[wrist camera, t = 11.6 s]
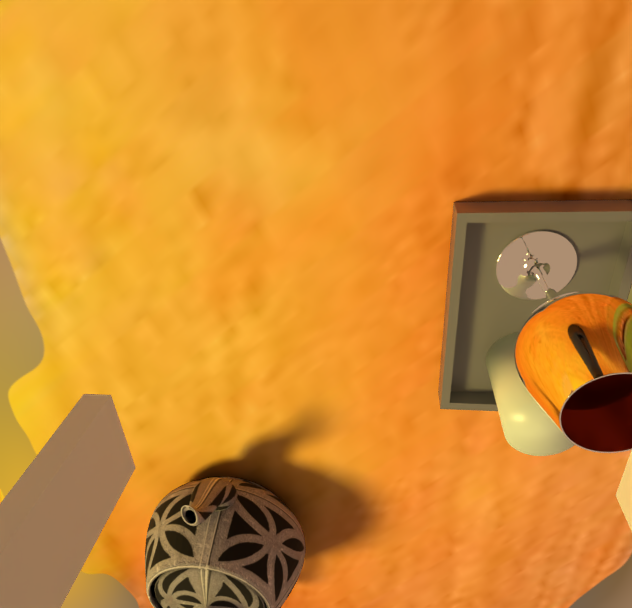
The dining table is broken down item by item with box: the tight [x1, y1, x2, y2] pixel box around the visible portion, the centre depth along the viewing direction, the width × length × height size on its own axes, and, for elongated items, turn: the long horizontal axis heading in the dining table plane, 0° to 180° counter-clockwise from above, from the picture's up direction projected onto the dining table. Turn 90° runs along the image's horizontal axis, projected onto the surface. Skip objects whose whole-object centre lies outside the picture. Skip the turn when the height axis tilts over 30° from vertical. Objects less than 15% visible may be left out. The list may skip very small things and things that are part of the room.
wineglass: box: [496, 230, 632, 453], centre depth 35 cm, size 8×8×18 cm
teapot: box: [145, 477, 305, 608], centre depth 59 cm, size 19×31×15 cm, turn 1°
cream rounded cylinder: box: [486, 333, 575, 456], centre depth 44 cm, size 6×6×9 cm
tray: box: [438, 200, 632, 411], centre depth 45 cm, size 20×14×2 cm
